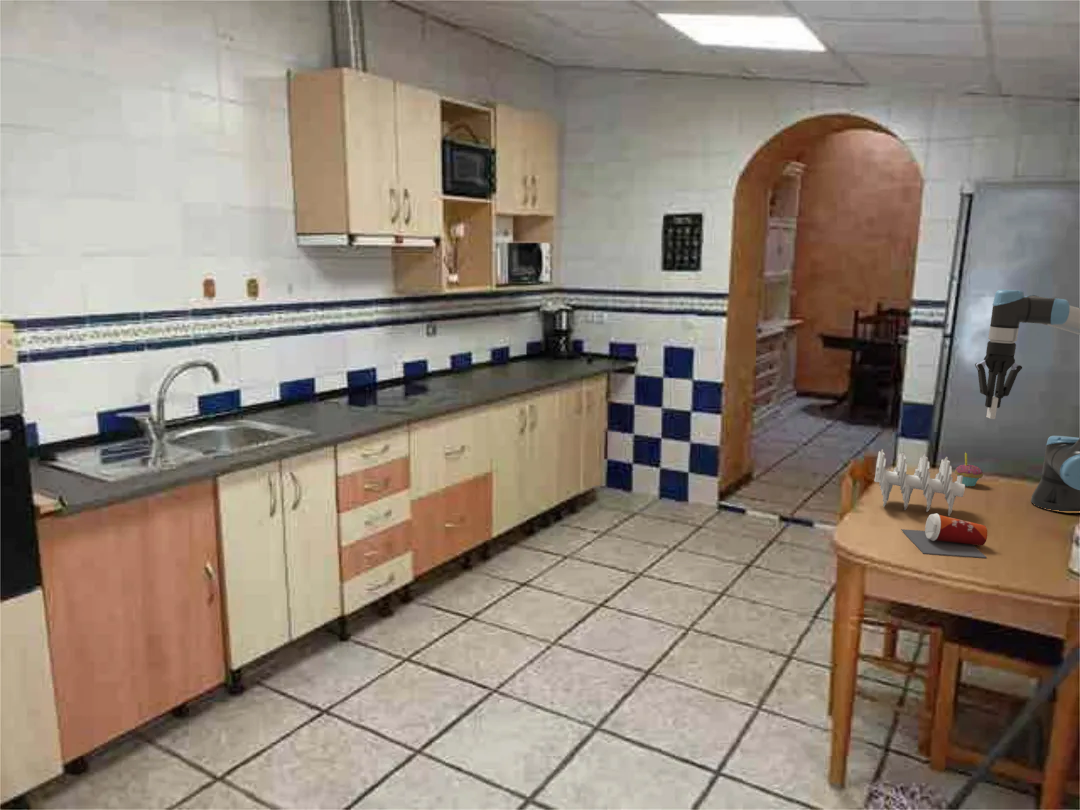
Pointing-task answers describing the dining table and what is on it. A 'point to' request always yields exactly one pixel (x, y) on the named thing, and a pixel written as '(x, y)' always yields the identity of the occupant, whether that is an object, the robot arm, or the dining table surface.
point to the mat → (941, 546)
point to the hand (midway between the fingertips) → (990, 417)
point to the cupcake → (969, 473)
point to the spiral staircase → (918, 481)
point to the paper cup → (954, 530)
